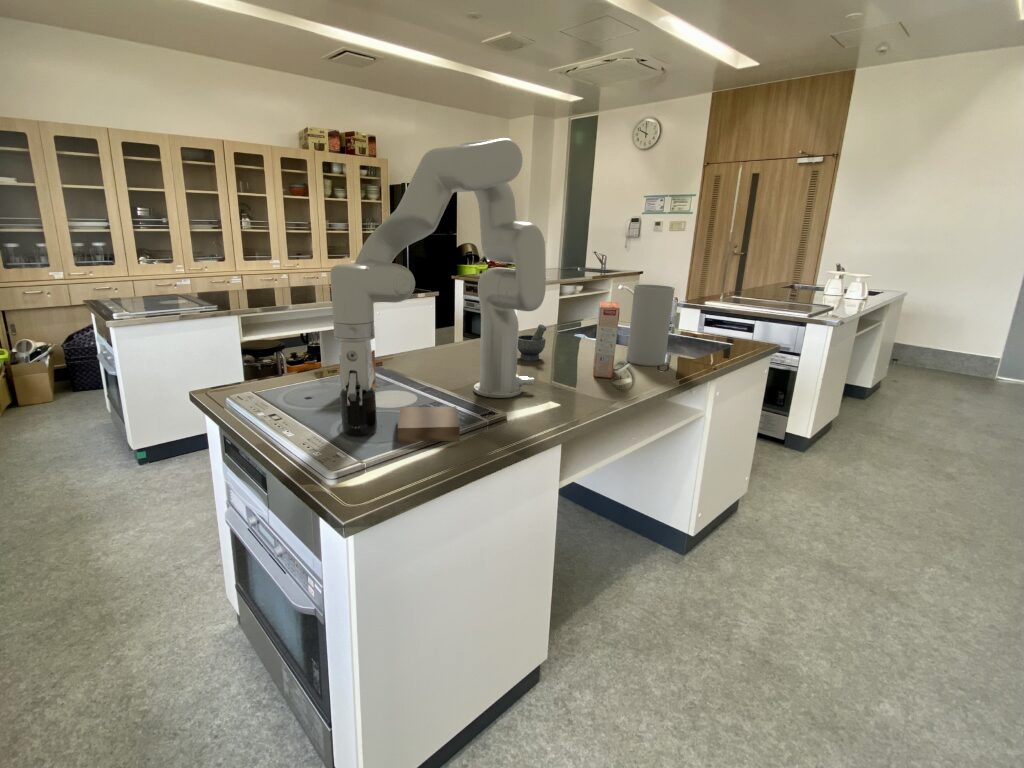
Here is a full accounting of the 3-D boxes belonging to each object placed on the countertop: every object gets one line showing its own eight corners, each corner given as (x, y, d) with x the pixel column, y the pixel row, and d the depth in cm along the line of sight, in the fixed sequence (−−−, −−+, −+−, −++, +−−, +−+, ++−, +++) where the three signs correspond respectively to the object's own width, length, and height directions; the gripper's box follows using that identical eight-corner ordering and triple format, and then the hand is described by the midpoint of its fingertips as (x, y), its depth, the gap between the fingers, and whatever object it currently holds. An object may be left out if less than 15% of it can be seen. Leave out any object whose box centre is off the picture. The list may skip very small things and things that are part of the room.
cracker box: (613, 379, 150) (620, 307, 144) (592, 377, 151) (599, 306, 145) (612, 367, 163) (618, 301, 157) (593, 365, 164) (598, 300, 158)
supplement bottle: (346, 425, 108) (343, 370, 104) (379, 425, 108) (377, 370, 105) (338, 438, 101) (334, 379, 98) (373, 438, 102) (371, 380, 98)
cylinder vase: (627, 365, 166) (636, 287, 159) (625, 356, 178) (632, 283, 171) (667, 368, 165) (677, 289, 158) (661, 359, 177) (671, 285, 170)
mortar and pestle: (509, 357, 171) (510, 321, 168) (529, 353, 177) (531, 318, 174) (532, 364, 163) (534, 326, 160) (553, 360, 169) (555, 324, 166)
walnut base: (456, 419, 114) (456, 406, 113) (459, 440, 102) (459, 426, 101) (400, 420, 112) (400, 407, 111) (397, 442, 100) (397, 428, 99)
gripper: (370, 340, 91) (374, 433, 96) (378, 322, 107) (381, 402, 113) (325, 339, 90) (332, 434, 95) (341, 322, 106) (346, 403, 111)
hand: (359, 416), depth 104 cm, fingers closed on supplement bottle, 6 cm apart
